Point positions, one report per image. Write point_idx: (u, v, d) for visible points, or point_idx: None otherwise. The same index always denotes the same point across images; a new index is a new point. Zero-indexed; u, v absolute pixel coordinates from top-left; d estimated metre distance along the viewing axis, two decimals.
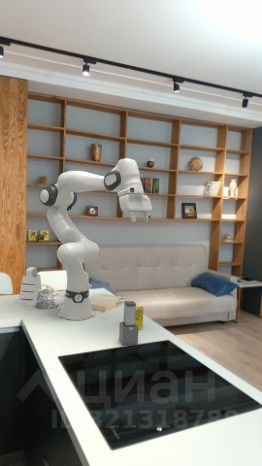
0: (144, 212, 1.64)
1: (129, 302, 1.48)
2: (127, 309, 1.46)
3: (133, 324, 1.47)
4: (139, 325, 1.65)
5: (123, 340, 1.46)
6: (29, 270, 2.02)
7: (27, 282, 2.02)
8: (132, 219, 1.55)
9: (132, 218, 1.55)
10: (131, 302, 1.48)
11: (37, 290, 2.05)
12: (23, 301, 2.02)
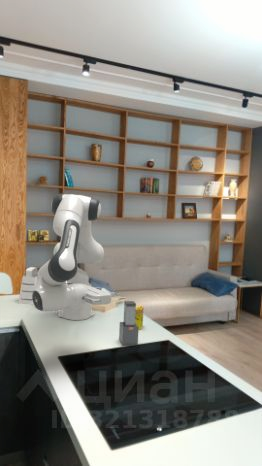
0: None
1: (129, 302, 1.48)
2: (127, 309, 1.46)
3: (133, 324, 1.47)
4: (139, 325, 1.65)
5: (123, 340, 1.46)
6: (29, 270, 2.02)
7: (27, 282, 2.02)
8: None
9: None
10: (131, 302, 1.48)
11: None
12: (23, 301, 2.02)
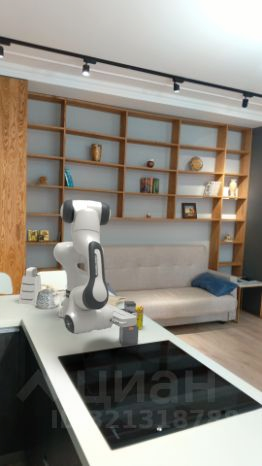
0: None
1: (129, 302, 1.48)
2: (127, 309, 1.46)
3: None
4: (139, 325, 1.65)
5: (123, 340, 1.46)
6: (29, 270, 2.02)
7: (27, 282, 2.02)
8: None
9: None
10: (131, 302, 1.48)
11: (37, 290, 2.05)
12: (23, 301, 2.02)
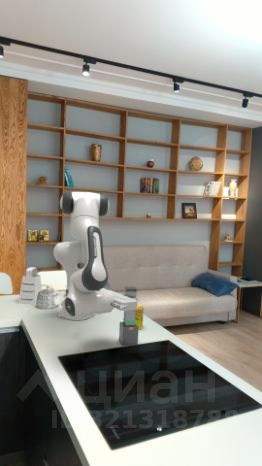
0: None
1: (130, 287, 1.47)
2: (128, 294, 1.46)
3: None
4: (139, 325, 1.65)
5: (123, 340, 1.46)
6: (29, 270, 2.02)
7: (27, 282, 2.02)
8: None
9: None
10: (132, 287, 1.48)
11: (37, 290, 2.05)
12: (23, 301, 2.02)
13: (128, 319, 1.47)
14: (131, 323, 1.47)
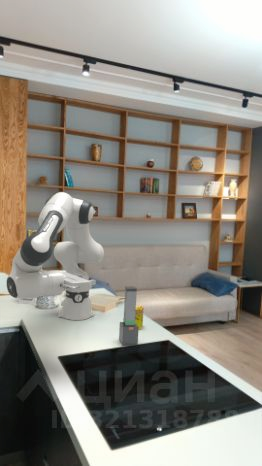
0: None
1: (130, 287, 1.47)
2: (128, 294, 1.46)
3: (134, 309, 1.47)
4: (139, 325, 1.65)
5: (123, 340, 1.46)
6: None
7: None
8: None
9: None
10: (132, 287, 1.48)
11: None
12: (23, 301, 2.02)
13: (128, 319, 1.47)
14: (131, 323, 1.47)
